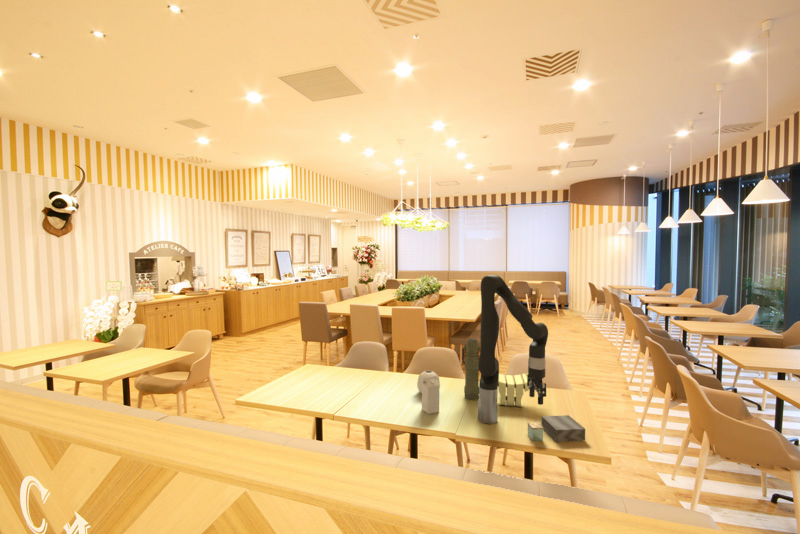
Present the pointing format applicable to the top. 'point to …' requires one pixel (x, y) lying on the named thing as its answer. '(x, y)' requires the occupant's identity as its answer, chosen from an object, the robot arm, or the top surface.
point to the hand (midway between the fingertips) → (536, 400)
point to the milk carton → (430, 395)
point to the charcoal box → (563, 428)
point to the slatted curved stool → (512, 389)
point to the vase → (422, 378)
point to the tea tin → (535, 431)
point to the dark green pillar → (471, 369)
